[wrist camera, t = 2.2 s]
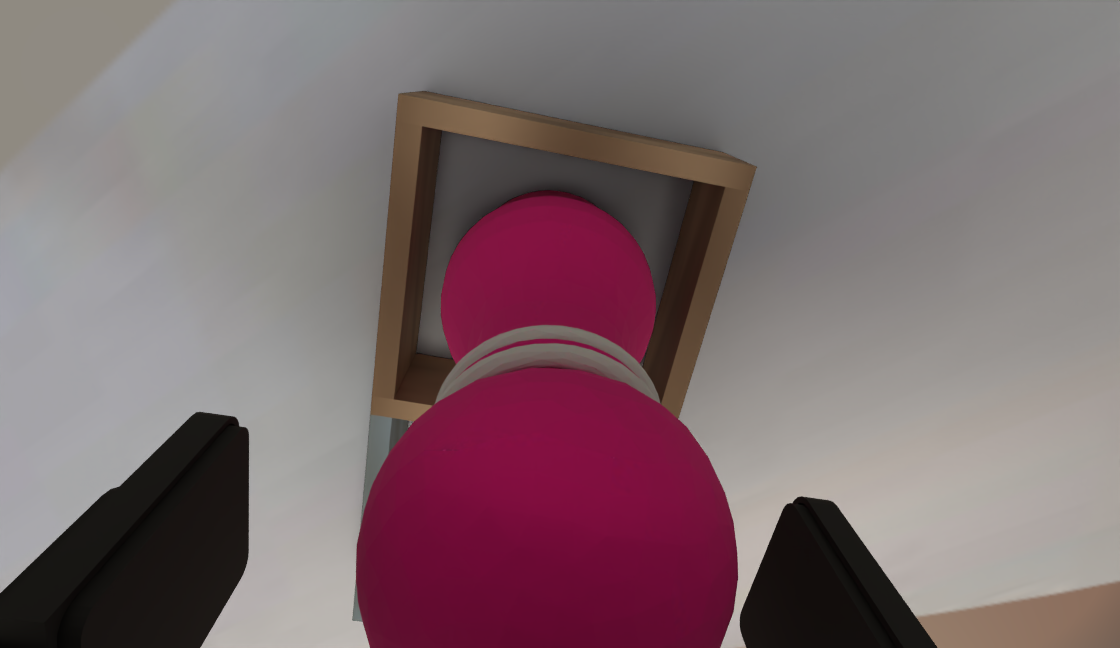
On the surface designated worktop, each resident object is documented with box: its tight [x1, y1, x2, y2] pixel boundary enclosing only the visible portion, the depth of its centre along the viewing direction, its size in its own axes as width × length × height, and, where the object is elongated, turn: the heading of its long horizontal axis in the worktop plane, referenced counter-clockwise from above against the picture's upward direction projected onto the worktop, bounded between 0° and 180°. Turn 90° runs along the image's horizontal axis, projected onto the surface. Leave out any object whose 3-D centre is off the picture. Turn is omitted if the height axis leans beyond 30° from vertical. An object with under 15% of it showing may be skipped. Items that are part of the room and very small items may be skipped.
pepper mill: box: [356, 190, 738, 648], centre depth 15 cm, size 7×7×20 cm
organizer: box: [352, 91, 757, 622], centre depth 25 cm, size 11×22×4 cm, turn 169°
